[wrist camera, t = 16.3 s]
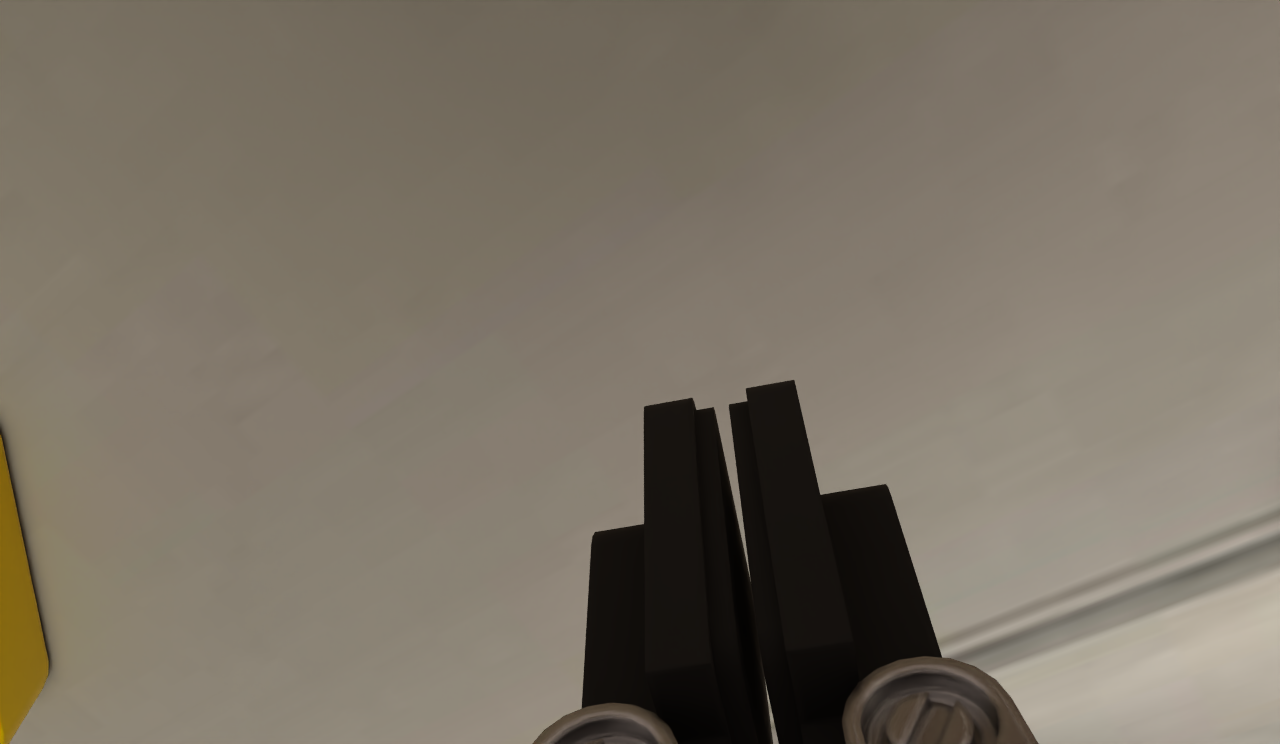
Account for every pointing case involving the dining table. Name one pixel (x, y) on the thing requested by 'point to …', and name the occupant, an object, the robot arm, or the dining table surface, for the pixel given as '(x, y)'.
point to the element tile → (17, 619)
